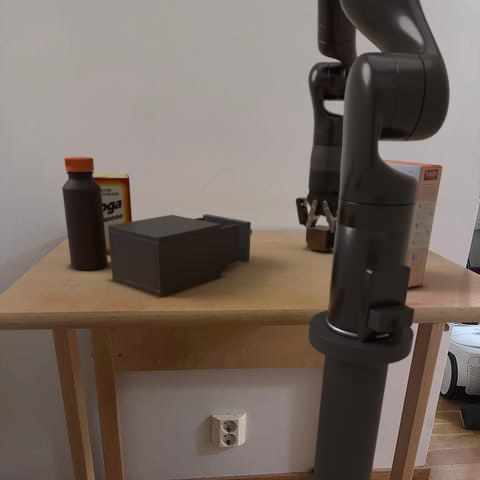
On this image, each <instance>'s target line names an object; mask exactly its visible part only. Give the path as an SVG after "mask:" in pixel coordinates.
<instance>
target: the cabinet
mask: <svg viewBox="0 0 480 480" xmlns="http://www.w3.org/2000/svg"><path fill="white" fill-rule="evenodd" d="M108 231H109V243H110V254H109V255H110V266H111V275H112V277H111V279H112V281H114V282H117V283H120V284H123V285H125V286H128V287H131V288H134V289H136V290H140V291H143V292H146V293H149V294H152V295H155V296H157V297H159V298H162V297H164V296H168V295H171V294H174V293H177V292H180V291H182V290H186V289H189V288H193V287H196V286H199V285H201V284H204V283H207V282H210V281H213V280H216V279H219V278H222V267H221V224H217V223H212V222H207V221H202V220H197V219H196V218H191V217H186V216H181V215H176V214H169V215H161V216H157V217H150V218H145V219H138V220H134V221H133V220H132V222H127V223H121V224H115V225H109V226H108Z"/></svg>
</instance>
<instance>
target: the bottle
mask: <svg viewBox="0 0 480 480" xmlns="http://www.w3.org/2000/svg"><path fill="white" fill-rule="evenodd" d="M94 164H95V163H94V158H93V157H88V156H70V157H65V158H64V167H65V172H66V174H67V178H68V179H67V180H66V182H65V183H64V184H63V186H62V188H61V189H62V198H63V208H64V215H65V216H64V217H65V223H66V231H67V233H66V234H67V241H68V249H69V259H70V266H71V267H72V268H73V269H75V270H78V271H94V270H99V269H100V270H101V269H103V268H105V267H106V266H108V254H107V251H106V240H105V228H104V217H103V205H102V194H101V187H100V185H99V184H98V183H97V182H96V181H95V180H94V179H93V173H95V165H94Z"/></svg>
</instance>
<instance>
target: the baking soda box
mask: <svg viewBox="0 0 480 480" xmlns="http://www.w3.org/2000/svg"><path fill="white" fill-rule="evenodd" d="M93 179H94V180H95V181H96V182H97V183H98V184H99V185H100V187H101V194H102V205H103V217H104V228H105V240H106V251H107V255H110V243H109V231H108V226H109V225H115V224H121V223H127V222H133V216H132V200H131V183H130V182H131V181H130V176H129V173H106V172H96V173H95V172H94V173H93Z"/></svg>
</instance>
